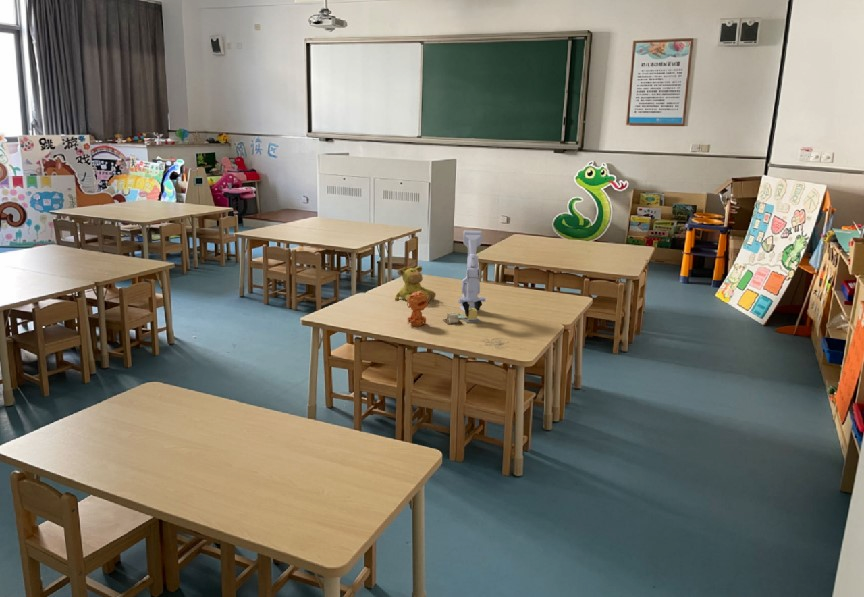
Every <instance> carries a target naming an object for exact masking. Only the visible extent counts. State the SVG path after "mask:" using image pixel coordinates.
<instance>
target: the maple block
mask: <svg viewBox="0 0 864 597" xmlns="http://www.w3.org/2000/svg"><path fill="white" fill-rule="evenodd" d="M458 314H459V313H457V312H456V311H452V312H450V311H449V312H446V319H447V322H448V323H455V322H458V320H459V319H458Z"/></svg>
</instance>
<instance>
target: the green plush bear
mask: <svg viewBox="0 0 864 597" xmlns="http://www.w3.org/2000/svg"><path fill="white" fill-rule="evenodd" d="M422 271H423V267H422V266H421V265H418V266H416V267H415V266H414V265H411V266H410V267H409V266H406V267H405V266H404V267H403V268H399V269H398V270H397V275H398V276H401V278H402V280H403V283H404V284H403V287H401V288H400V290H399V291H398V292H397V293H396V295H395V297H394V300H395V301H396V300H397V301H398V300H399V299H402V300H406V301H407V299H408V297H409V296H410V295H412V293H414V292H418V291H421V290H422V291H421V292H423V293H424V294H426V296H427V299H426V300H424V301H429V302H431V300H432V301H434V300H435V298H436V296H437V295H436V292H435V291H434V290H431V289H429V288H426V287H424V286H422V285H421V283H422V281H423V279H424V277H423V274H422V273H421V272H422ZM408 302H409V299H408Z"/></svg>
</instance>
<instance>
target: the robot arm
mask: <svg viewBox="0 0 864 597" xmlns="http://www.w3.org/2000/svg"><path fill="white" fill-rule="evenodd" d="M462 234H463V235H462V236H463V237H462V238H463V239H462V240H463V241H462V242H463V245H464V246H465V247H467V258H466V259H467V261H466V263H467V268H466V272H465V273H466V276H465V278H462V281H461V294H462V295H461V298H458V299H457V303H458V304H461V306H460V307H459V309H460V310H462V311H463V312H464V314H465V317H466V316H468V314H469V308H475V309H476V310H477V315H478V314H479V312H480V309H481V307H482V306H483V303H485V302H486V297H484V296H478V295H479V294H480V293H481V282H480V276H481V275H480V272H481V271H480V265H479V264H480V263H479V256H478V255H477V251H478V250H477V249H478V247H480V246H481V244H482V242H483V231H482V230H466V229H465V230H463V233H462Z"/></svg>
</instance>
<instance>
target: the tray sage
mask: <svg viewBox="0 0 864 597" xmlns="http://www.w3.org/2000/svg"><path fill="white" fill-rule="evenodd" d="M457 314H458V320H462V318H463V317H466V315H465V316H464V315H463V313H461V312H459V313H457Z"/></svg>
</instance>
